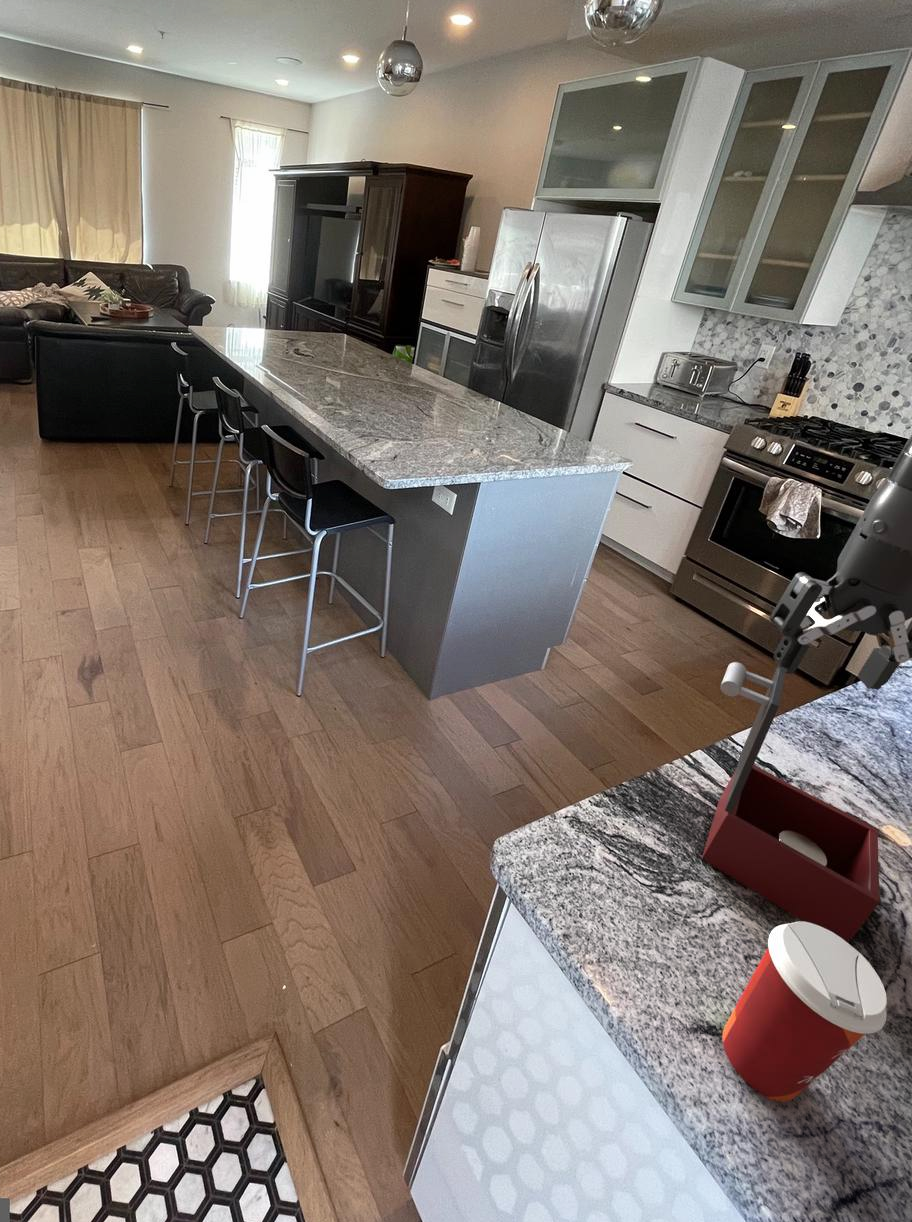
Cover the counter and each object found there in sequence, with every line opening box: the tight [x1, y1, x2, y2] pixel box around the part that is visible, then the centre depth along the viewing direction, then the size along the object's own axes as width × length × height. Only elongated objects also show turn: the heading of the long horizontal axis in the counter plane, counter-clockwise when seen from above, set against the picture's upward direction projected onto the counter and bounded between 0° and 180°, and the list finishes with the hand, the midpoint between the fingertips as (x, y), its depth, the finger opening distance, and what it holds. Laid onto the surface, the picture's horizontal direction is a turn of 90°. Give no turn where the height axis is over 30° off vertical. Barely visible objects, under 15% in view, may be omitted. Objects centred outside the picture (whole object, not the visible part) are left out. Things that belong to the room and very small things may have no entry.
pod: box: [778, 831, 827, 867], centre depth 70 cm, size 5×5×4 cm
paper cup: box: [721, 921, 888, 1103], centre depth 51 cm, size 8×8×14 cm
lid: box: [720, 661, 787, 814], centre depth 71 cm, size 14×12×5 cm
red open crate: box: [701, 764, 881, 944], centre depth 70 cm, size 14×12×8 cm
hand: (824, 676), depth 64 cm, fingers open, 8 cm apart
